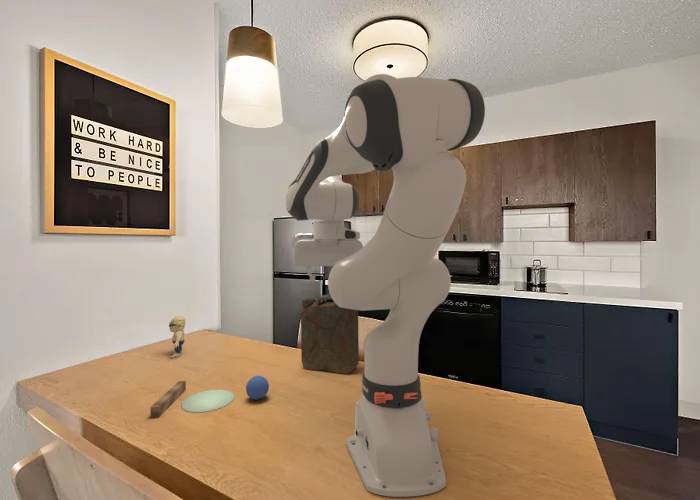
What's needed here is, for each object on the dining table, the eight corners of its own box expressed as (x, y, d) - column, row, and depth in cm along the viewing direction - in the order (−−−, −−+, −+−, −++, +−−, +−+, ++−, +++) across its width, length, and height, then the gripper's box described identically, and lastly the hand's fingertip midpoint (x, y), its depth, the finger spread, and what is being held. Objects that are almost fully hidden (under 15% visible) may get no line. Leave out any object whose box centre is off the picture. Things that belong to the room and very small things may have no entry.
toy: (172, 351, 135) (172, 313, 135) (188, 349, 137) (187, 312, 137) (165, 361, 123) (165, 320, 123) (182, 359, 125) (182, 319, 125)
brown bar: (159, 417, 82) (158, 406, 82) (150, 417, 82) (150, 407, 82) (185, 389, 98) (185, 380, 98) (178, 389, 98) (178, 381, 98)
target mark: (226, 411, 85) (226, 410, 85) (172, 413, 84) (172, 412, 84) (239, 389, 98) (239, 388, 98) (192, 391, 97) (192, 390, 97)
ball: (267, 403, 89) (266, 380, 89) (243, 404, 89) (243, 381, 89) (270, 393, 95) (270, 372, 95) (248, 394, 95) (248, 372, 95)
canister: (360, 367, 115) (359, 293, 115) (352, 376, 107) (351, 297, 107) (310, 361, 122) (309, 291, 121) (299, 369, 114) (298, 295, 113)
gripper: (290, 233, 92) (291, 283, 93) (365, 233, 94) (365, 282, 94) (293, 234, 99) (293, 281, 99) (363, 233, 100) (363, 280, 100)
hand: (329, 282), depth 96 cm, fingers open, 8 cm apart
